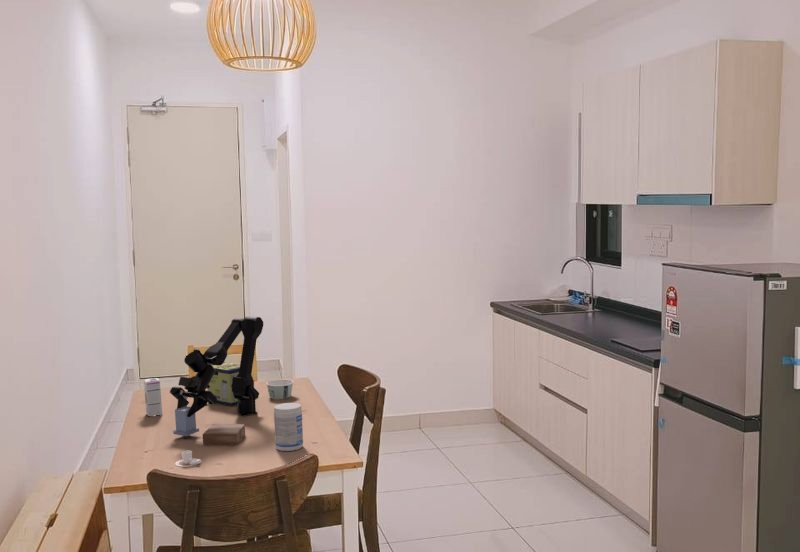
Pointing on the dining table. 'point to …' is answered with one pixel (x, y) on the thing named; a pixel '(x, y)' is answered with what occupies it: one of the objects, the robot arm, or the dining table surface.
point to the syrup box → (153, 396)
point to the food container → (280, 388)
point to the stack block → (224, 434)
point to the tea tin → (185, 422)
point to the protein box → (224, 383)
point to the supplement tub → (288, 426)
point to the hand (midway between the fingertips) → (182, 415)
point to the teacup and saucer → (188, 459)
